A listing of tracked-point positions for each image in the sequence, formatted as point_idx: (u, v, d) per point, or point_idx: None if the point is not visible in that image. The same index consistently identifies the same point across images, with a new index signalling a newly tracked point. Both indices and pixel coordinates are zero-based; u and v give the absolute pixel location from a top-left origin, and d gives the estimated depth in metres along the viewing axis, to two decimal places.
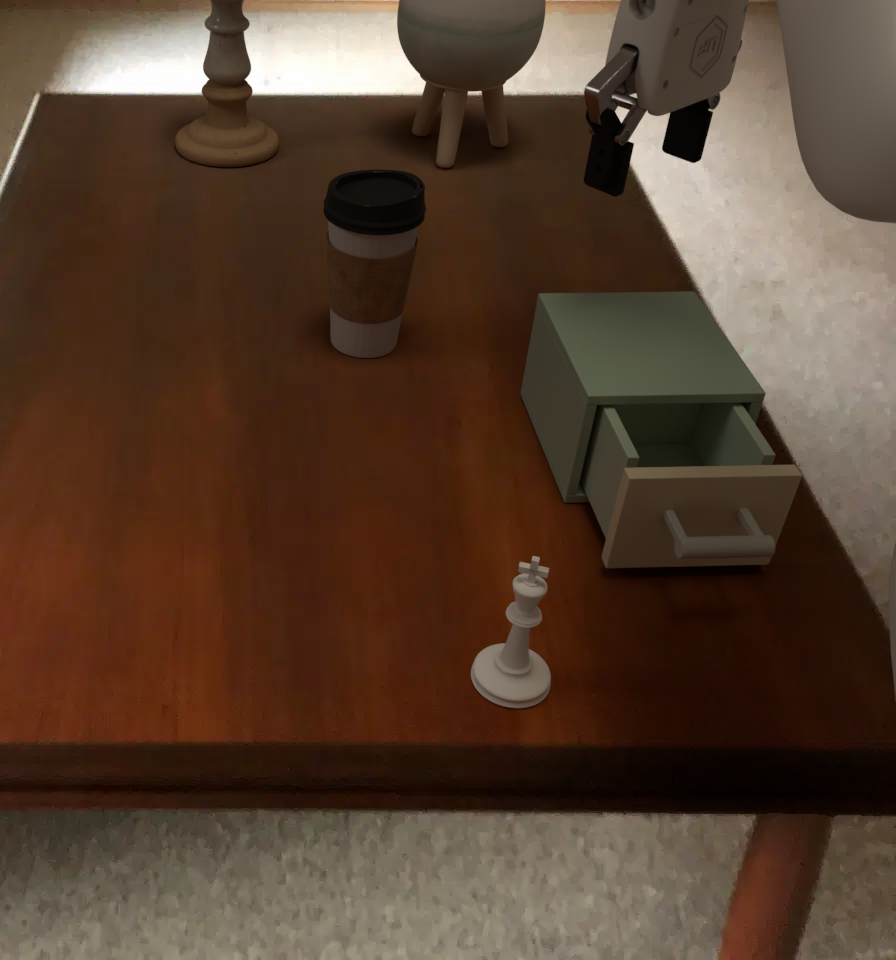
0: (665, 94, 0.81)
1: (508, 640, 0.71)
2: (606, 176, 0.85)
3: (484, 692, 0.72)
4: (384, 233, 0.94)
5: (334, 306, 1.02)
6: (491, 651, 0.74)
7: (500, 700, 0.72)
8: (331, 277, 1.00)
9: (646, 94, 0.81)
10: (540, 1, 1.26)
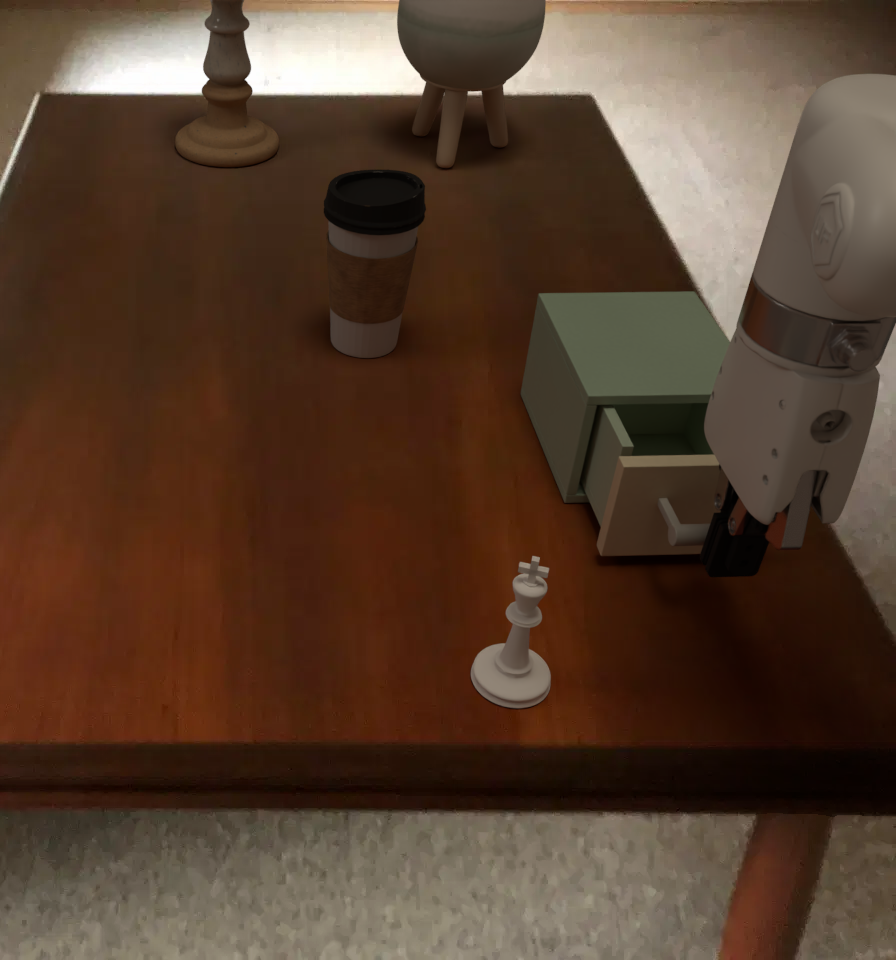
0: None
1: (508, 640, 0.71)
2: (753, 565, 0.73)
3: (484, 692, 0.72)
4: (384, 233, 0.94)
5: (334, 306, 1.02)
6: (491, 651, 0.74)
7: (500, 700, 0.72)
8: (331, 277, 1.00)
9: (835, 510, 0.65)
10: (540, 1, 1.26)
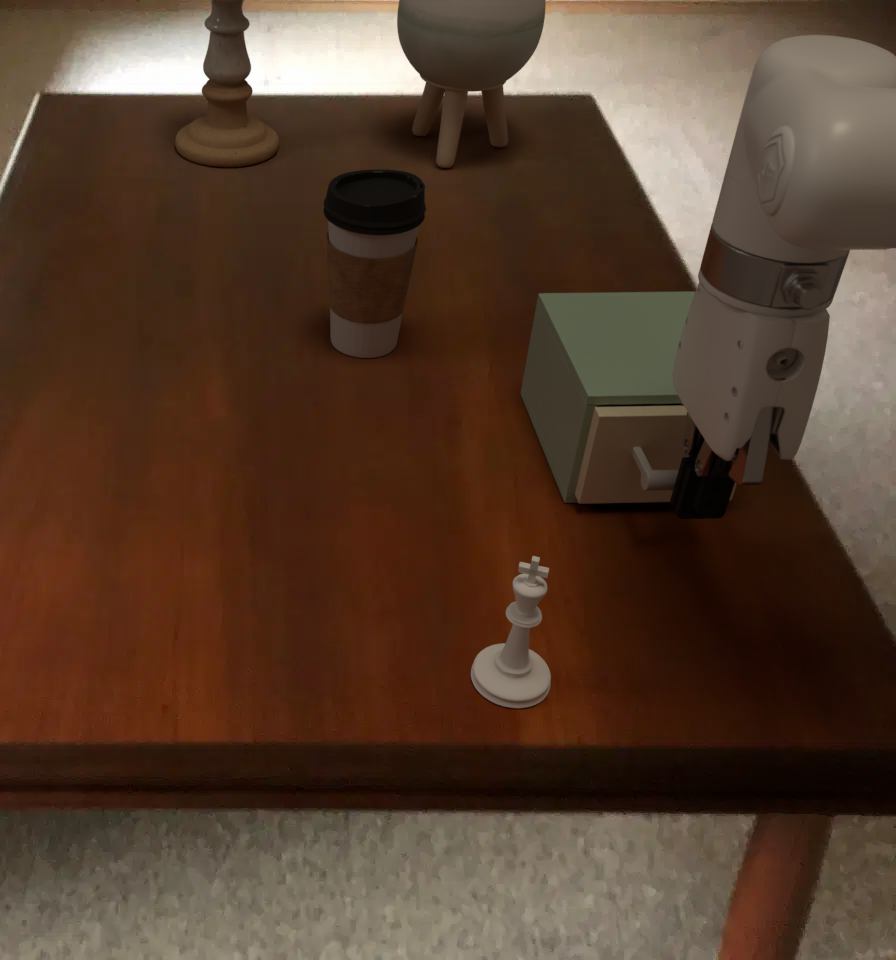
0: None
1: (508, 640, 0.71)
2: (719, 506, 0.77)
3: (484, 692, 0.72)
4: (384, 233, 0.94)
5: (334, 306, 1.02)
6: (491, 651, 0.74)
7: (500, 700, 0.72)
8: (331, 277, 1.00)
9: (792, 446, 0.70)
10: (540, 1, 1.26)
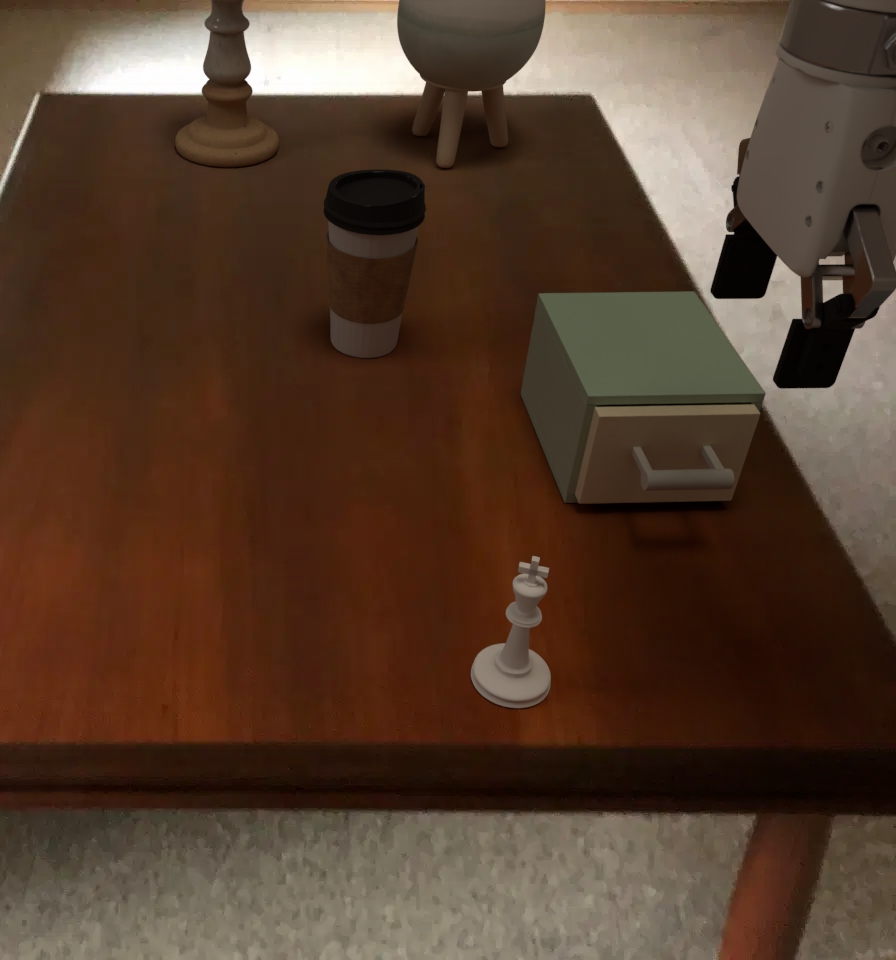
0: None
1: (508, 640, 0.71)
2: (830, 370, 0.62)
3: (484, 692, 0.72)
4: (384, 233, 0.94)
5: (334, 306, 1.02)
6: (491, 651, 0.74)
7: (500, 700, 0.72)
8: (331, 277, 1.00)
9: None
10: (540, 1, 1.26)
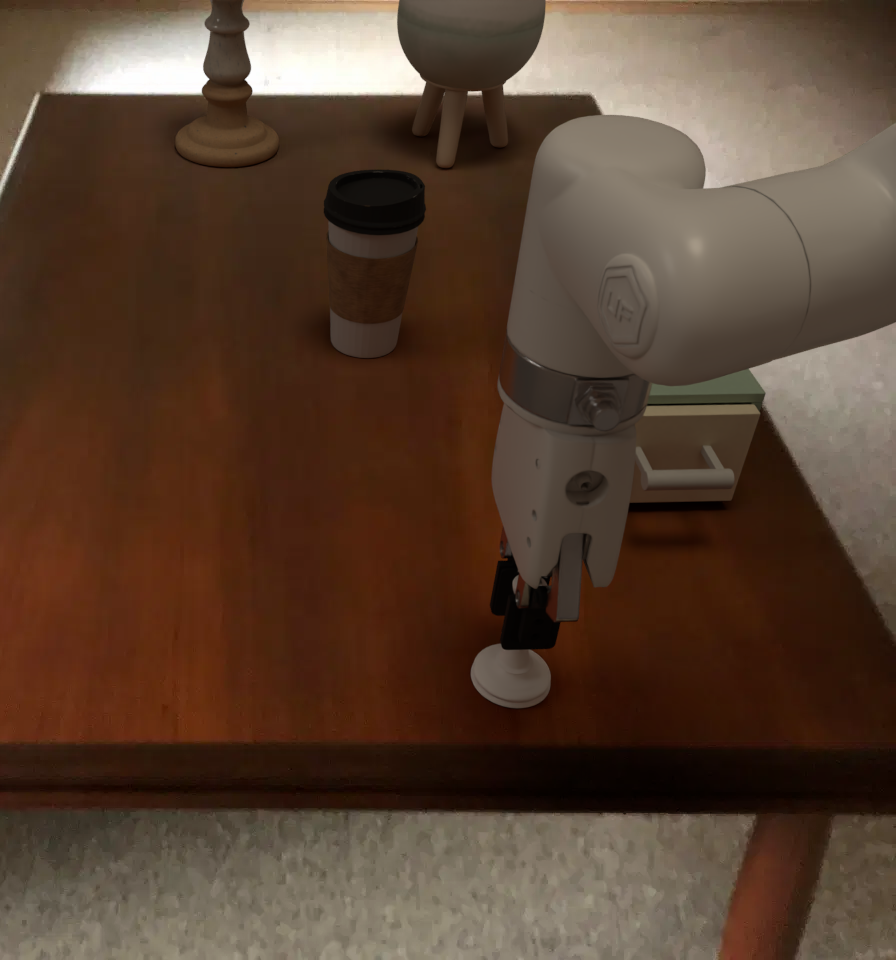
0: None
1: None
2: (546, 639, 0.68)
3: (484, 691, 0.72)
4: (384, 233, 0.94)
5: (334, 306, 1.02)
6: (491, 651, 0.74)
7: (500, 700, 0.72)
8: (331, 277, 1.00)
9: (605, 574, 0.62)
10: (540, 1, 1.26)
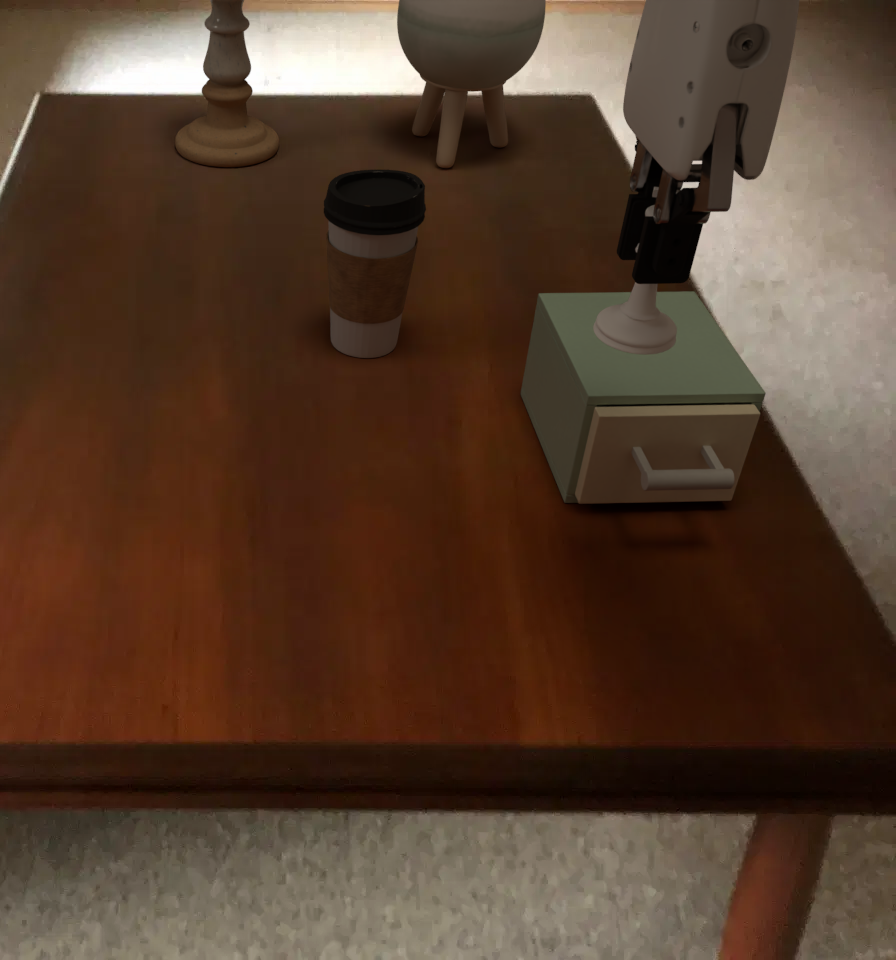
0: None
1: (636, 284, 0.70)
2: (682, 265, 0.67)
3: (610, 341, 0.71)
4: (384, 233, 0.94)
5: (334, 306, 1.02)
6: (614, 307, 0.73)
7: (628, 347, 0.70)
8: (331, 277, 1.00)
9: (758, 157, 0.60)
10: (540, 1, 1.26)
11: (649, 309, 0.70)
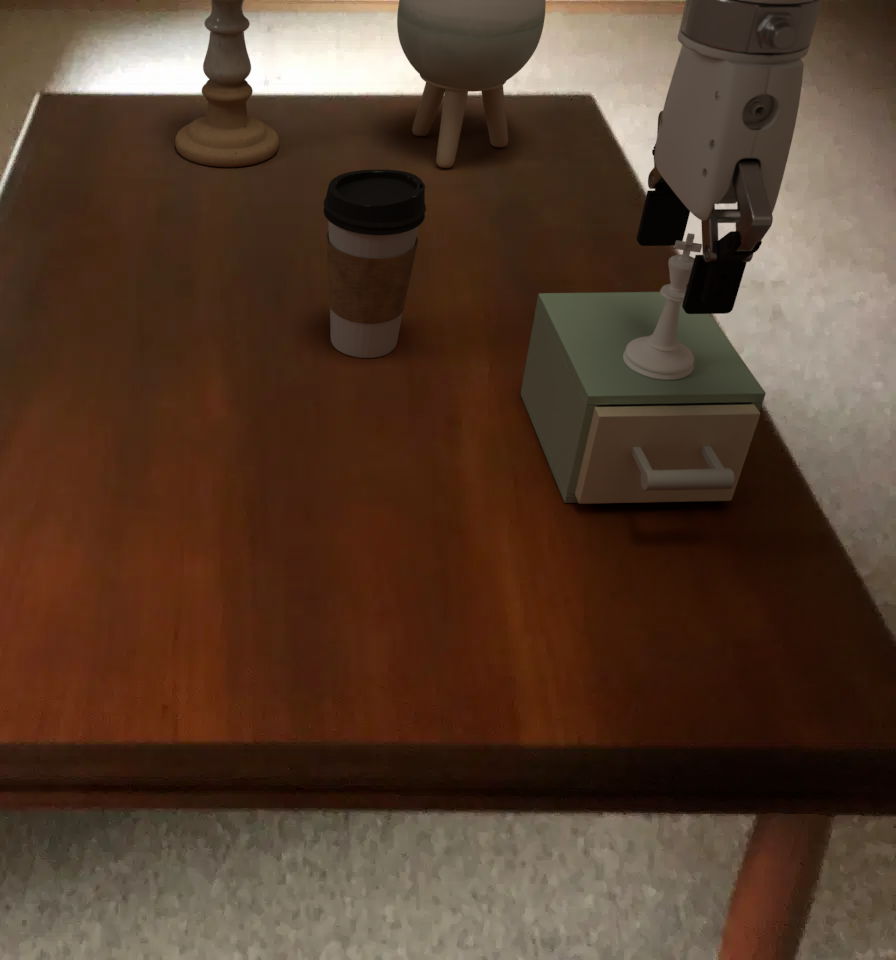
0: None
1: (660, 320, 0.83)
2: (727, 297, 0.75)
3: (638, 368, 0.84)
4: (384, 233, 0.94)
5: (334, 306, 1.02)
6: (641, 339, 0.86)
7: (652, 373, 0.83)
8: (331, 277, 1.00)
9: (768, 202, 0.72)
10: (540, 1, 1.26)
11: (671, 341, 0.83)
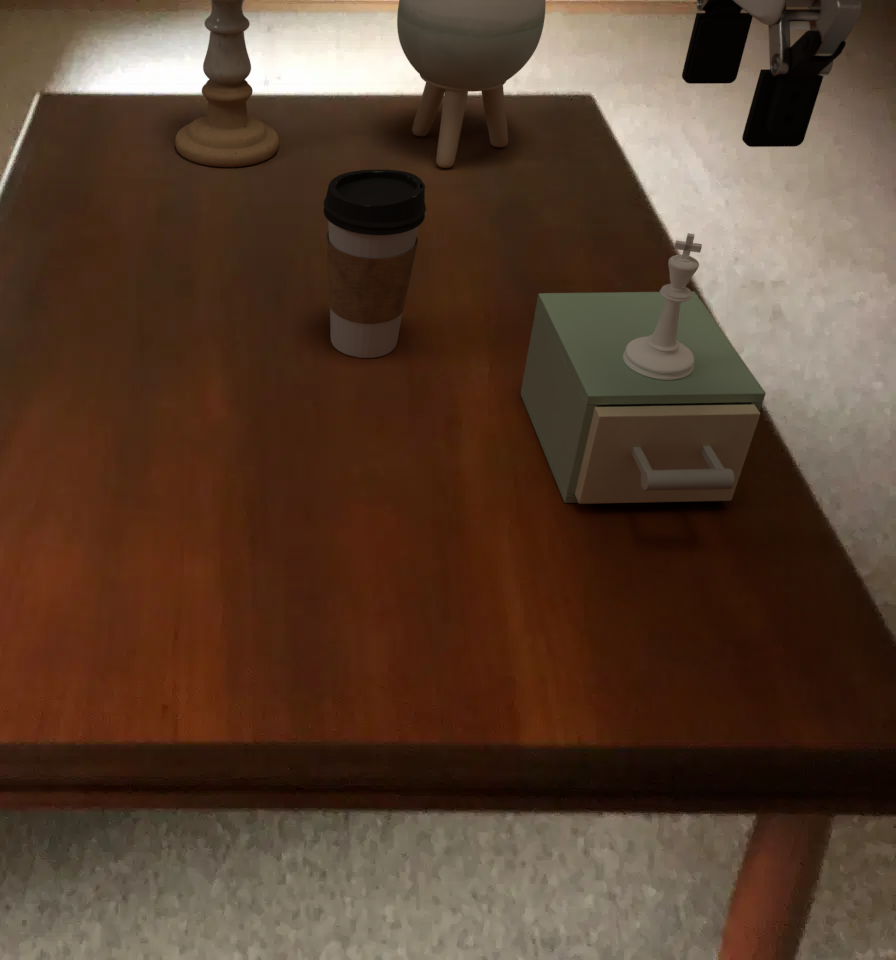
0: None
1: (660, 320, 0.83)
2: (799, 123, 0.62)
3: (638, 368, 0.84)
4: (384, 233, 0.94)
5: (334, 306, 1.02)
6: (641, 339, 0.86)
7: (652, 373, 0.83)
8: (331, 277, 1.00)
9: None
10: (540, 1, 1.26)
11: (671, 341, 0.83)
